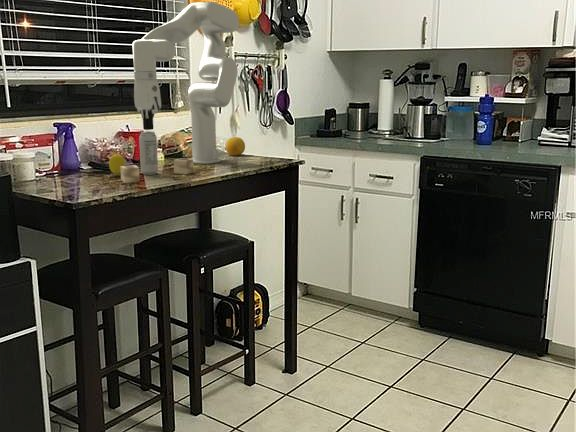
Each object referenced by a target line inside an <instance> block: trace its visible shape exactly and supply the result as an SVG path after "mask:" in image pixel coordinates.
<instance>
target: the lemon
mask: <svg viewBox="0 0 576 432" xmlns="http://www.w3.org/2000/svg"><path fill="white" fill-rule="evenodd" d="M108 166H109V170H110V171H111V172H112V173H113V174H114V175H116V176H119V175H121V169H120V166H126V161H125V159H124V157H123V155H122V154H119V153H118V152H115V154H112V155H111V156H110V157H109V161H108Z"/></svg>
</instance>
